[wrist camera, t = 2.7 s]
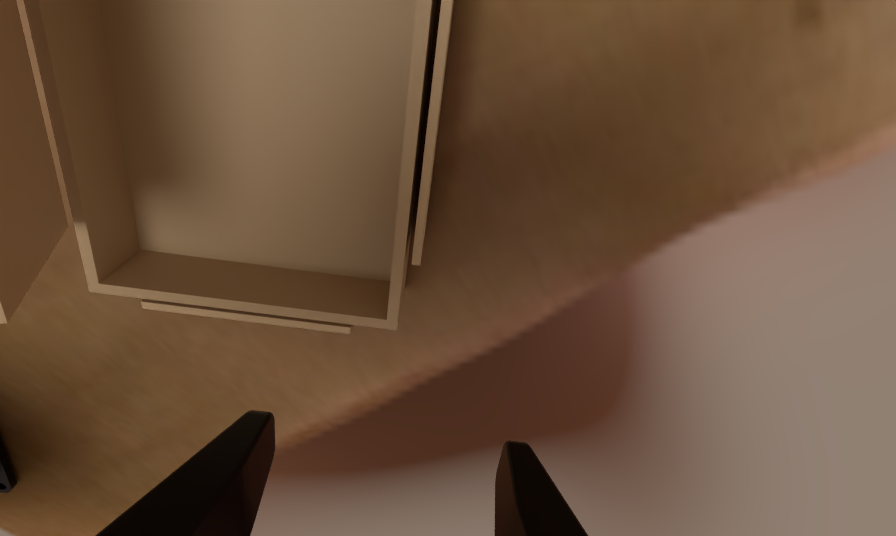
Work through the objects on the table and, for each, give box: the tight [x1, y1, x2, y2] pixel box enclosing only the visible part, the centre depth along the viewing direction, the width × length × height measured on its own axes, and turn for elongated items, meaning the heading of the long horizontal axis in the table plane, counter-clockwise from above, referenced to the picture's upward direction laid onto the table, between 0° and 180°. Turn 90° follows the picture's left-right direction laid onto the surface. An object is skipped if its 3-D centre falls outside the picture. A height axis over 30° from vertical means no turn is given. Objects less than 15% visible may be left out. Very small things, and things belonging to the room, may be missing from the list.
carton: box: [24, 0, 454, 334], centre depth 17 cm, size 15×12×3 cm
